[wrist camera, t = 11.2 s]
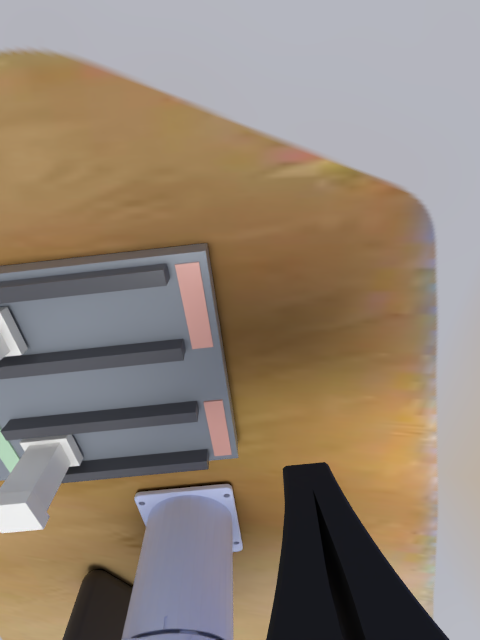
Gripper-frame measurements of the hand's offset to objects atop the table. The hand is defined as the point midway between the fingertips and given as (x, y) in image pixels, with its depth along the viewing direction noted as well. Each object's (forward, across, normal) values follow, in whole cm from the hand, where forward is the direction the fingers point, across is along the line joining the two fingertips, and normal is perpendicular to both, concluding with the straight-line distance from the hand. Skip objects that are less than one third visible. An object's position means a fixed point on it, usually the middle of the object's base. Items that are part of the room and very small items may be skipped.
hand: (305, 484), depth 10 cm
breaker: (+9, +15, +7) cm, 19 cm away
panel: (+10, +12, +2) cm, 16 cm away
